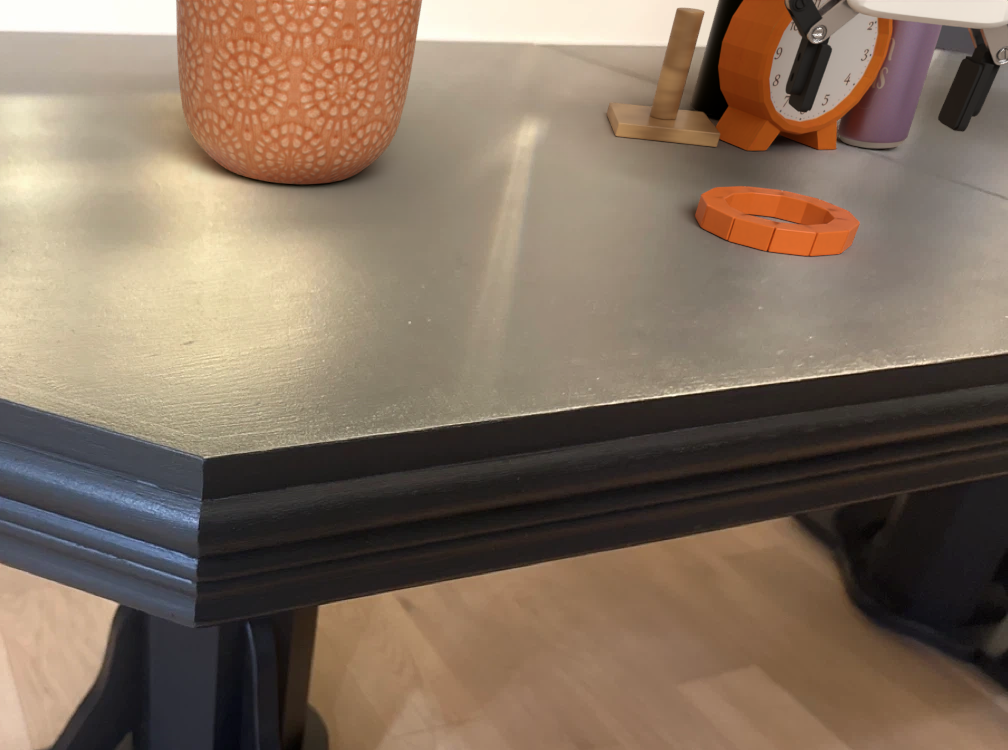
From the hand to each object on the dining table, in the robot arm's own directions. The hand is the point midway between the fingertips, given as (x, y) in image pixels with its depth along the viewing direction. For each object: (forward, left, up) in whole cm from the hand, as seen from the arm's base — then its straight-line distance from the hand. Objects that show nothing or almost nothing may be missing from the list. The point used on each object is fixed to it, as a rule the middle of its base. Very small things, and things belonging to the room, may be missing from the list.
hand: (873, 117), depth 67 cm
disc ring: (+4, 0, -8) cm, 9 cm away
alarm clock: (-3, -29, -8) cm, 30 cm away
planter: (+39, -2, -8) cm, 40 cm away
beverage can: (-12, -33, -8) cm, 36 cm away
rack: (+8, -29, -8) cm, 31 cm away
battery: (0, -40, -8) cm, 41 cm away
